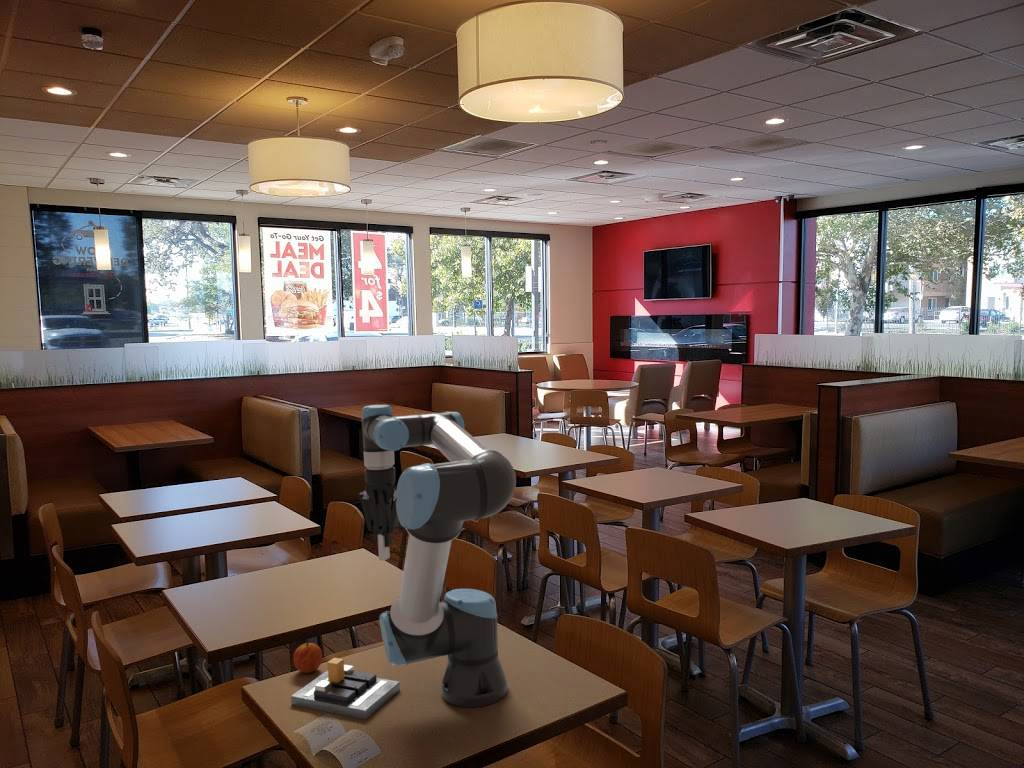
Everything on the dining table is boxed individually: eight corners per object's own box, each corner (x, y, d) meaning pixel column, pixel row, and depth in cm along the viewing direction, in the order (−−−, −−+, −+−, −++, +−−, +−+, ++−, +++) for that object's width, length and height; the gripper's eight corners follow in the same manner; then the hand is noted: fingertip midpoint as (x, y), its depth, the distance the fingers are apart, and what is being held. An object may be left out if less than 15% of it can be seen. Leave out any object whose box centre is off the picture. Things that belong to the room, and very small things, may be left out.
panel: (399, 689, 175) (398, 670, 175) (365, 719, 163) (364, 698, 162) (329, 677, 183) (328, 658, 183) (291, 704, 171) (290, 684, 170)
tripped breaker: (344, 677, 174) (343, 659, 174) (337, 682, 172) (336, 663, 172) (335, 676, 175) (334, 657, 175) (328, 681, 173) (327, 662, 173)
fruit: (295, 667, 190) (293, 636, 189) (323, 663, 191) (321, 633, 191) (293, 679, 183) (291, 647, 182) (322, 675, 184) (321, 644, 184)
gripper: (409, 464, 189) (414, 556, 191) (366, 463, 194) (371, 552, 196) (394, 470, 182) (398, 565, 184) (349, 468, 187) (354, 561, 189)
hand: (384, 558), depth 190 cm, fingers closed
